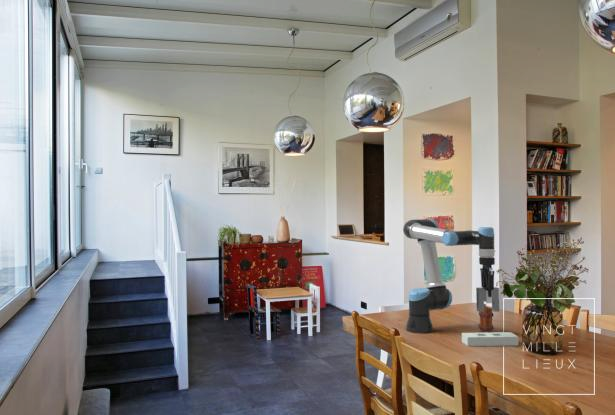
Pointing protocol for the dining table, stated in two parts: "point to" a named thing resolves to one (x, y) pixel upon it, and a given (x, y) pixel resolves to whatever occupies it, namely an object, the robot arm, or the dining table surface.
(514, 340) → the pale board with holes
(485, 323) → the mug
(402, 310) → the dining table surface
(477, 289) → the grey block
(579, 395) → the dining table surface
